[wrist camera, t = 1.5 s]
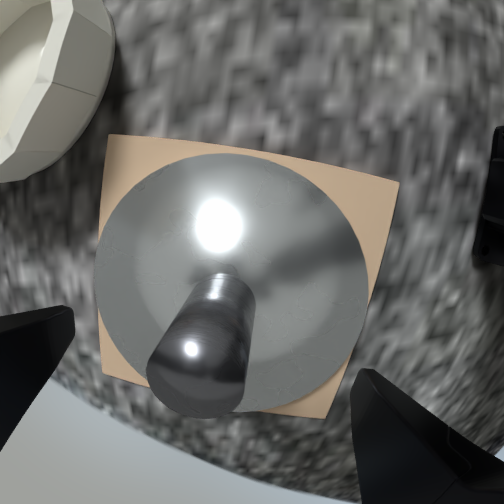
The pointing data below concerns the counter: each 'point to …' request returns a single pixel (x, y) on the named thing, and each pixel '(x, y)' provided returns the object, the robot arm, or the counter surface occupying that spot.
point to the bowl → (49, 78)
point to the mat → (322, 175)
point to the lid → (230, 284)
